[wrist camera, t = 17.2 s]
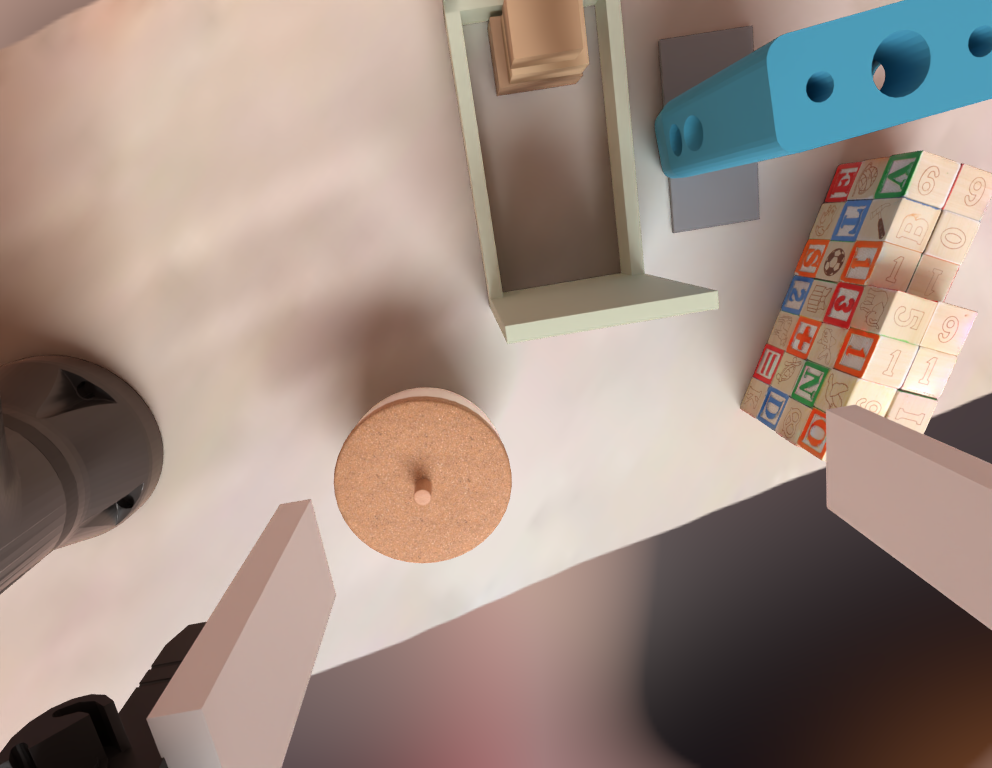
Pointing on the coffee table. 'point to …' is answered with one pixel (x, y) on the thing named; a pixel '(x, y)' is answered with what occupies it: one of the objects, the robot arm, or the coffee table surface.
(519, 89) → the offcut stack
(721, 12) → the coffee table surface
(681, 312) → the frame
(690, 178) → the felt mat
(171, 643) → the robot arm
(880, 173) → the stack of blocks
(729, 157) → the block
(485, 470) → the lidded bowl
